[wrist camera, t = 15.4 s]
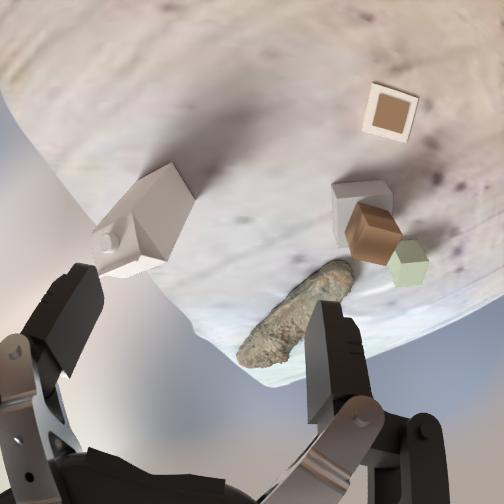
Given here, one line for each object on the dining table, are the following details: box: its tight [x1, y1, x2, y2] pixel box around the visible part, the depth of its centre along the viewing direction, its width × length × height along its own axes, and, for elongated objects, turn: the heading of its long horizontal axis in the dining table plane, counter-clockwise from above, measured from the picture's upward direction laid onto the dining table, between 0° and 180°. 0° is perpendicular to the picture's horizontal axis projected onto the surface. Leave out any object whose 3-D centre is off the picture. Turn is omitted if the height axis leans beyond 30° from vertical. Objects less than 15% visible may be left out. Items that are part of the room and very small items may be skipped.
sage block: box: [387, 240, 429, 287], centre depth 46 cm, size 5×5×6 cm
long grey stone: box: [236, 261, 355, 368], centre depth 58 cm, size 35×5×10 cm
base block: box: [331, 180, 393, 248], centre depth 42 cm, size 8×8×5 cm
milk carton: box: [90, 162, 195, 278], centre depth 37 cm, size 7×7×19 cm
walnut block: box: [344, 202, 403, 266], centre depth 38 cm, size 5×5×6 cm
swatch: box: [361, 83, 418, 143], centre depth 35 cm, size 7×7×1 cm
